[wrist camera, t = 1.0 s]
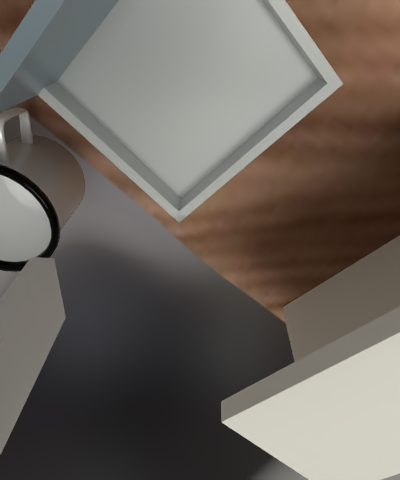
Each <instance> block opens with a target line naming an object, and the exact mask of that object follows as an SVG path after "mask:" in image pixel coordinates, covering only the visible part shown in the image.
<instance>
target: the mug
mask: <svg viewBox="0 0 400 480" xmlns="http://www.w3.org/2000/svg"><path fill="white" fill-rule="evenodd" d="M17 115H19V122H20V133H21V137H18V138H15V139H13V140H11V141H10V142H8V143H6V140H5V135H4V124H5V122H6V121H7V120H9V119H11V118H12V117H14V116H17ZM84 192H85V181H84V175H83V172H82V170H81V167H80V166H79V164H78V162H77V161H76V159H75V158H74V157H73V156H72V154H71V153H70V152H69V151H67V150H66V149H65V148H64V147H63V146H61V145H60V144H58V143H56V142H55V141H52V140H50V139H47V138H45V137H40V136H33V133H32V127H31V121H30V116H29V113H28V111H27V110H26V109H23V108H13V109H9V110H6V111H4V112H2V113H0V270H3V271H14V272H17V271H21V270H22V269H23V268H24V266H25V265H26V263H27V262H28V261H29V259H30V258H31V257H39V258H49V257H50V256H51V255H52V254H53V253H54V251H55V249H56V248H57V246H58V242H59V239H60V231H61V229H62V228H63V226H64V225H65V223H66V222H67V221H68V219H69V218H70V217H71V215H72V214H73V212H74V211H75V210H76V208H77V207H78V205H79V204H80V202H81V201H82V199H83V196H84Z"/></svg>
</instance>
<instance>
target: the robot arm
mask: <svg viewBox="0 0 400 480" xmlns="http://www.w3.org/2000/svg"><path fill="white" fill-rule="evenodd" d="M64 319H65V312H64V307H63V302H62V297H61V292H60V287H59V282H58V277H57V272H56V267H55V262H54V259H53V258H39V257H31V258H30V259H29V261H28V262H27V263H26V265H25V266H24V268H23V269H22V270H21V272H20V273H19V274H18V276H17V277H16V279H15V280H14V281H13V283H12V284H11V285H10V287H9V288H8V290H7V291H6V292H5V294H4V295H3V296H2V298H1V299H0V454H1V452H2V450H3V448H4V446H5V444H6V442H7V440H8V437H9V435H10V433H11V431H12V429H13V427H14V425H15V423H16V420H17V419H18V416H19V414H20V412H21V410H22V408H23V405H24V404H25V402H26V400H27V397H28V395H29V393H30V391H31V389H32V387H33V385H34V383H35V380H36V378H37V376H38V374H39V372H40V370H41V368H42V366H43V364H44V362H45V360H46V357H47V355H48V353H49V351H50V349H51V347H52V345H53V343H54V340H55V338H56V336H57V334H58V332H59V330H60V328H61V326H62V324H63V322H64Z"/></svg>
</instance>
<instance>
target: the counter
mask: <svg viewBox="0 0 400 480" xmlns="http://www.w3.org/2000/svg"><path fill="white" fill-rule="evenodd" d="M282 308H283V313H284V317H285V321H286V326H287V330H288V334H289V339H290V342H291V347H292V352H293V356H294V360H295V363H293V364H291V365H289V366H287V367H285V368H283V369H281V370H279V371H277V372H276V373H274V374H272V375H270V376H268V377H266V378H264V379H263V380H261V381H259V382H257V383H255V384H253V385H251V386H249V387H248V388H246V389H244V390H242V391H240V392H238V393H236V394H234V395H233V396H231V397H229V398H227V399H225V400H223V401H221V416H222V418H221V420H222V423H224V424H225V425H227V426H228V427H230V428H231V429H233V430H234V431H236V432H237V433H239V434H240V435H242V436H243V437H245V438H246V439H248V440H250V441H251V442H253V443H254V444H256V445H257V446H259V447H260V448H262V449H263V450H265V451H266V452H268V453H269V454H271V455H272V456H274V457H275V458H277V459H278V460H280V461H281V462H283V463H285V464H286V465H287V466H289V467H291V468H292V469H294V470H295V471H297V472H298V473H300V474H301V475H303V476H304V477H306V478H307V479H309V480H381V479H384V478H387V477H390V476H393V475H396V474H399V473H400V235H399V236H398V237H396V238H394V239H393V240H391V241H390V242H388V243H386V244H385V245H383V246H381V247H380V248H378V249H377V250H375V251H373V252H372V253H370V254H368V255H367V256H365V257H364V258H362V259H360V260H359V261H357V262H355V263H354V264H352V265H351V266H349V267H347V268H346V269H344V270H342V271H341V272H339V273H338V274H336V275H334V276H333V277H331V278H329V279H328V280H326V281H325V282H323V283H321V284H320V285H318V286H316V287H315V288H313V289H312V290H310V291H308V292H307V293H305V294H303V295H302V296H300V297H299V298H297V299H295V300H294V301H292V302H290V303H289V304H287V305H286V306H284V307H282Z"/></svg>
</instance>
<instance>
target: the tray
mask: <svg viewBox="0 0 400 480" xmlns="http://www.w3.org/2000/svg"><path fill="white" fill-rule="evenodd" d="M341 85H343V83H342V81H341V80H340V79H339V77H338V76H337V74H336V73H335V71H334V70H333V69H332V67H331V66H330V64H329V63H328V61H327V60H326V58H325V57H324V56H323V54H322V53H321V51H320V50H319V48H318V47H317V46H316V44H315V43H314V41H313V40H312V38H311V37H310V36H309V34H308V33H307V31H306V30H305V28H304V27H303V25H302V24H301V23H300V21H299V20H298V18H297V17H296V15H295V14H294V13H293V11H292V10H291V8H290V7H289V5H288V4H287V3H286V1H285V0H35V2H34V3H33V5H32V6H31V8H30V9H29V11H28V12H27V14H26V15H25V17H24V18H23V20H22V22H21V23H20V25H19V26H18V28H17V29H16V31H15V32H14V34H13V35H12V37H11V38H10V40H9V41H8V43H7V44H6V46H5V47H4V49H3V51H2V52H1V54H0V112H2V111H4V110H7V109H9V108H11V107H13V106H15V105H17V104H20V103H22V102H24V101H26V100H28V99H31V98H33V97H35V96H37V95H38V96H39V97H40V98H41V99H43V100H44V101H45V102H46V103H47V104H48V105H49V106H50V107H51V108H53V109H54V110H55V111H56V112H57V113H58V114H59V115H60V116H61V117H63V118H64V119H65V120H66V121H67V122H68V123H69V124H70V125H71V126H73V127H74V128H75V129H76V130H77V131H78V132H79V133H80V134H81V135H83V136H84V137H85V138H86V139H87V140H88V141H89V142H90V143H91V144H92V145H94V146H95V147H96V148H97V149H98V150H99V151H100V152H101V153H102V154H104V155H105V156H106V157H107V158H108V159H109V160H110V161H111V162H112V163H114V164H115V165H116V166H117V167H118V168H119V169H120V170H121V171H122V172H124V173H125V174H126V175H127V176H128V177H129V178H130V179H131V180H132V181H133V182H135V183H136V184H137V185H138V186H139V187H140V188H141V189H142V190H143V191H145V192H146V193H147V194H148V195H149V196H150V197H151V198H152V199H153V200H155V201H156V202H157V203H158V204H159V205H160V206H161V207H162V208H163V209H165V210H166V211H167V212H168V213H169V214H170V215H171V216H172V217H173V218H175V219H176V220H177V221H178V222H180V221H182V220H183V219H184V218H185V217H186V216H187V215H189V214H190V213H191V212H192V211H193V210H195V209H196V208H197V207H198V206H199V205H200V204H202V203H203V202H204V201H205V200H206V199H208V198H209V197H210V196H211V195H212V194H213V193H215V192H216V191H217V190H218V189H219V188H221V187H222V186H223V185H224V184H225V183H227V182H228V181H229V180H230V179H231V178H232V177H234V176H235V175H236V174H237V173H238V172H240V171H241V170H242V169H243V168H244V167H245V166H247V165H248V164H249V163H250V162H251V161H253V160H254V159H255V158H256V157H257V156H258V155H260V154H261V153H262V152H263V151H264V150H266V149H267V148H268V147H269V146H270V145H271V144H273V143H274V142H275V141H276V140H277V139H279V138H280V137H281V136H282V135H283V134H285V133H286V132H287V131H288V130H289V129H290V128H292V127H293V126H294V125H295V124H296V123H298V122H299V121H300V120H301V119H302V118H303V117H305V116H306V115H307V114H308V113H309V112H311V111H312V110H313V109H314V108H315V107H316V106H318V105H319V104H320V103H321V102H322V101H324V100H325V99H326V98H327V97H328V96H330V95H331V94H332V93H333V92H334V91H335V90H337V89H338V88H339V87H340V86H341Z"/></svg>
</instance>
